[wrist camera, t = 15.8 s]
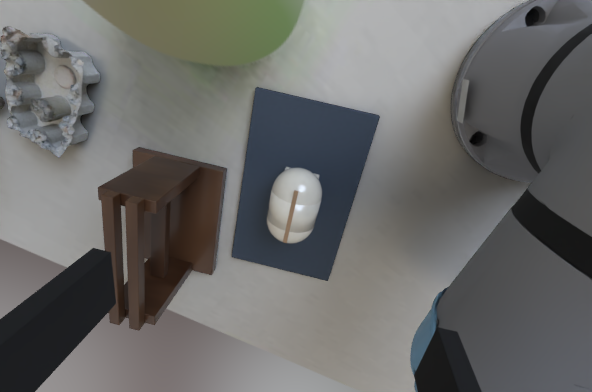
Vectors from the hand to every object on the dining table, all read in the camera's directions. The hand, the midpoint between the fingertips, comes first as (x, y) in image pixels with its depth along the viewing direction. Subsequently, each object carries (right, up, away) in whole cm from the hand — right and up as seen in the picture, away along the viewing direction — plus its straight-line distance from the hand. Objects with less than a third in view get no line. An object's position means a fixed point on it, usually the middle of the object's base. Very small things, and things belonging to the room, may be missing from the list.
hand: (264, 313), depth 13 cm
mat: (+1, +5, +22) cm, 22 cm away
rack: (-12, +3, +25) cm, 28 cm away
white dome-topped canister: (+1, +5, +21) cm, 22 cm away
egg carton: (-23, +16, +21) cm, 35 cm away
